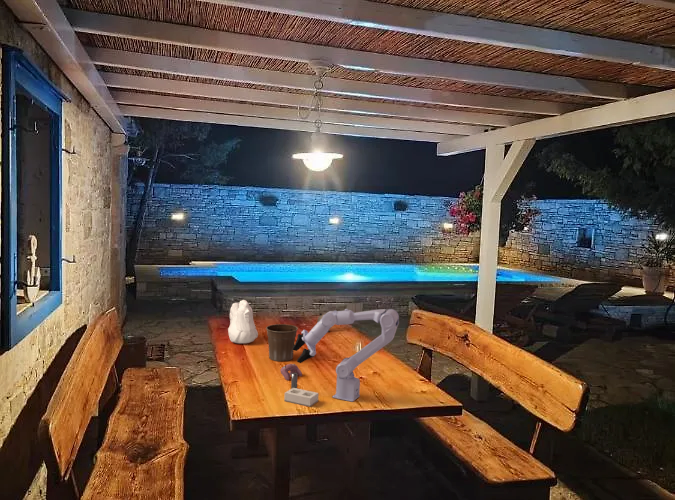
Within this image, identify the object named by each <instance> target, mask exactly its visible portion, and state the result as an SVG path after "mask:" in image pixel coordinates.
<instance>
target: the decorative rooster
mask: <svg viewBox="0 0 675 500" xmlns="http://www.w3.org/2000/svg"><path fill="white" fill-rule="evenodd" d="M253 312H254V311H253V309H252V306H251V305H250V303H249V302H248V301H247V300H246V299H242V300H240V301H239V302H234V303H232V304H231V307H230V309H229V321H230V322H229V327H228V328H227V331H228V336H229V337H228V338H229V340H230V342H232V343H235V344H249V343H252V342H254V341H255V340H256V339H257V338H258V336H259V333H258V330H257V328H256V325H255V321H254V313H253Z"/></svg>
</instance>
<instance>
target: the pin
mask: <svg viewBox="0 0 675 500" xmlns="http://www.w3.org/2000/svg"><path fill="white" fill-rule="evenodd" d="M298 377H299V375H298V373H292V376H291V384H290V385H291V387H290V389H292V388H297V389H298Z"/></svg>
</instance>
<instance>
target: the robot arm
mask: <svg viewBox="0 0 675 500" xmlns="http://www.w3.org/2000/svg"><path fill="white" fill-rule="evenodd" d="M323 314H324V315H323V317H322V319H321V320H320V321H319V322H318V323H316V324H315V325H314V326H313V327H312V328H311V329H310V330H309V332H308V330H306V329H303V330H302V331H301V334H300V333H298V334H297V336H296V337H297V338H296V339H295V343H294V347H293V350H294V351H295V352H298V351H299V350H300V348H302V347H303V346H304V345H306V347H307V348H305V347H304V348H303V350H302V352H301V354H300V356H299V357H298V358H297V360H296V362H297V363H299V364H302V363H303V362H305V361H307V360H309V359H312V358H314V357H315V356H316V354H317V351H316V350H317V349H316V345H317V344H318V343H319V342H320V341H321V340H322V338H324V337H325V335H326V334H327V333H329V332H328V330H329V331H330V329H331V328H332V327H333V326H339V325H340V326H342V325H352V324H354V323H355V321H369V320H371V321H374V322H375V323H377V324H380V328H381V334H379V335H378V336H377V337H376V338H374V339H373V340H372V341H370V342H368V343H367V344H366V345H365V346H363V347H362V348H361V349H360V350H358V351H357V352H356V353H354V354H352V355H351V356H349V357H345V358H343V359H342V360H341V362H340V363H338V364H337V365H336V368H335V374H336V388H335V394H334V395H332V397H331V398H333V399H338V400H341V401H347V402H351V403H353V402H354V401H355V400H356V399H358V398H359V397H361V395H360V388H361V381H360V378H359V377H356V376H355V374H354V371H355V369H356V368H357V367H358V366H360V365H361V364H362V363H364V362H365V361H366V360H367V359H369V358H370V357H372V356H373V355H375V354H376V353H378V351H380V350H381V349H383V348H384V347H385V346H386V345H388V344H389V343H391V342H392V341H393V339H394V338H395V335H396V332H397V329H398V327H399V324H400V316H399V313H398V311H397V310H396V309H391V308H389V309H385V308H384V309H383V308H382V309H371V310H364V311H357V312H354V310H351V309H348V308H345V309H344V310H338V311H337V309H336V310H330V311H328V312H326V313H323Z"/></svg>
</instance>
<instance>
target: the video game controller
mask: <svg viewBox="0 0 675 500" xmlns="http://www.w3.org/2000/svg"><path fill="white" fill-rule="evenodd" d="M292 373H298V377H303V373H302V371H301V369H300V368H299V367H298V365H296V364H295V363H289V364H286V365H284V366H283V367H281V368H280V374H281V375H282V376H283V378H284V379H285V380H286V381H289V380H290V377H292Z"/></svg>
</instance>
